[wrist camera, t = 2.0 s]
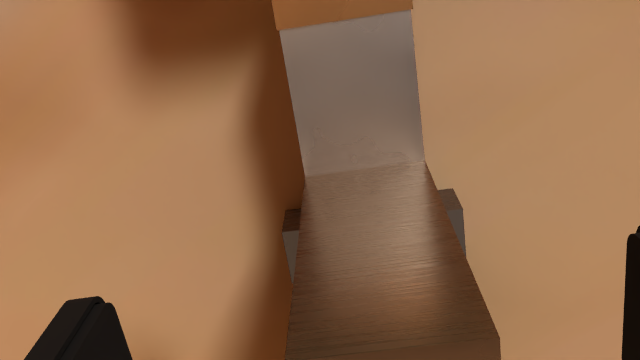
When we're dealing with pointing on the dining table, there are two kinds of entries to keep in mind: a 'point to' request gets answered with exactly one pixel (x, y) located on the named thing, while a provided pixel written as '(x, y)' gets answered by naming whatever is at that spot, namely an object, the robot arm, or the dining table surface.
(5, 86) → the dining table surface
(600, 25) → the dining table surface
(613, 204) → the dining table surface
